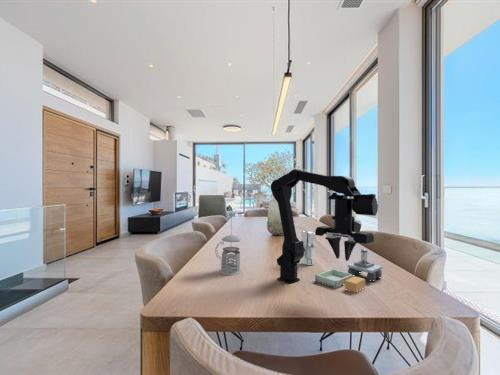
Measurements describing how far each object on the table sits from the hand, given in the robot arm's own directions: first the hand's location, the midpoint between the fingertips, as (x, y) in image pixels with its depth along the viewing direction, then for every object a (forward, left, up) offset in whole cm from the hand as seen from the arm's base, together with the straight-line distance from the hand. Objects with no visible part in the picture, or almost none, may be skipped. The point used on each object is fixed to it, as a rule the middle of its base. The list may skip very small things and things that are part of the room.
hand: (342, 259), depth 91 cm
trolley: (+24, +4, -12) cm, 27 cm away
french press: (-15, +44, -12) cm, 48 cm away
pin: (+24, +4, -7) cm, 26 cm away
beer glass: (+21, +30, -12) cm, 38 cm away
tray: (+10, +9, -12) cm, 18 cm away
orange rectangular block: (+9, 0, -12) cm, 15 cm away
